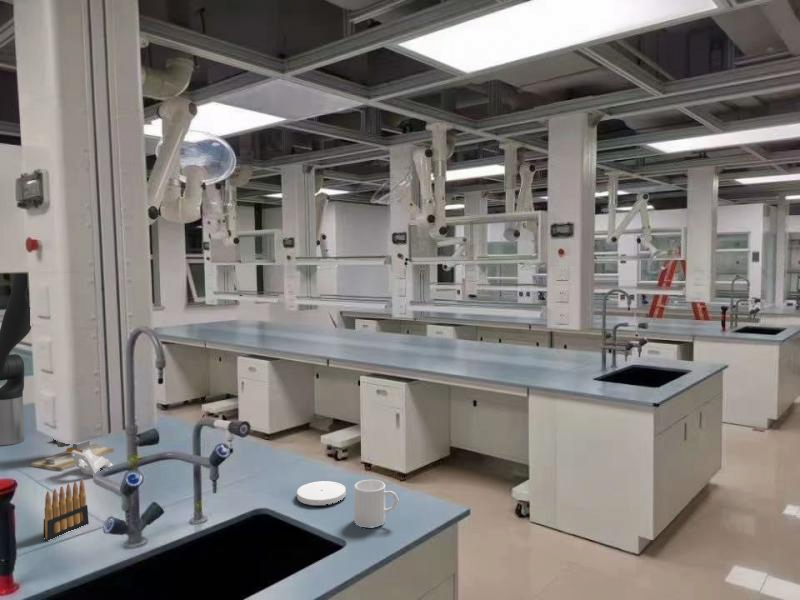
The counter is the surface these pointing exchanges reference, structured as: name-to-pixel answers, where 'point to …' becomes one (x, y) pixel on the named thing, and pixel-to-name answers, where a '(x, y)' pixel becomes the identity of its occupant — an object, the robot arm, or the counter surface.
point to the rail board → (68, 462)
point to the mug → (371, 502)
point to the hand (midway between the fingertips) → (73, 439)
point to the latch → (72, 449)
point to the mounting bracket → (89, 462)
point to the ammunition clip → (65, 511)
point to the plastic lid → (321, 493)
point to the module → (75, 446)
